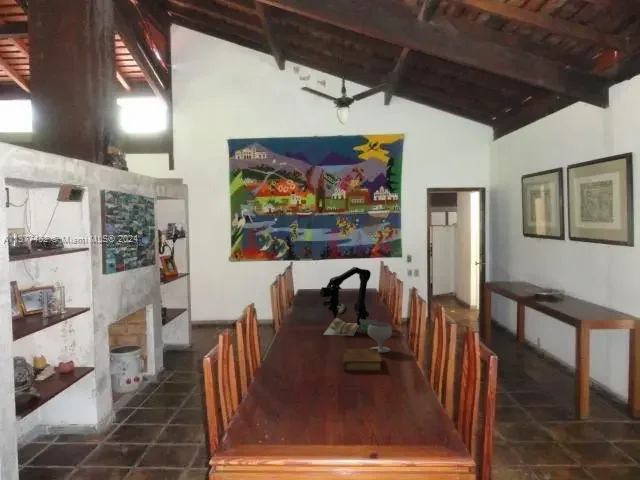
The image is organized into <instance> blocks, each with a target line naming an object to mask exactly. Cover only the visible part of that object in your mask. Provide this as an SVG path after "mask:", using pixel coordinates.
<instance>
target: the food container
mask: <svg viewBox="0 0 640 480" xmlns="http://www.w3.org/2000/svg"><path fill="white" fill-rule="evenodd" d="M359 322H360V323H361V325H360V332H361V334H362V335H368V327H369V325H370V324H371V323H375V322H378V319H376V318H375V319H370V318H367V319H361V318H360V320H359ZM368 336H369V335H368Z"/></svg>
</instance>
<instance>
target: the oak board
mask: <svg viewBox="0 0 640 480" xmlns="http://www.w3.org/2000/svg"><path fill="white" fill-rule="evenodd" d="M345 323H346V324H345V326H344V328H343V329H342V331H341V334H353V333H354V331H355V329H356V327H357V325H358V324H357V322H356V323H353V322H352V323H351V322H345Z"/></svg>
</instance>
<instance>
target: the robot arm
mask: <svg viewBox="0 0 640 480" xmlns="http://www.w3.org/2000/svg"><path fill="white" fill-rule="evenodd" d="M356 274H357V275H358V277H359V281H360V282H359V289H358V290H359V291H358V296H357V297H358V298H357V302H356V303H354V305H353V309H354V313H355V314H356V316H357V318H356V323H357V325H359V326H361V323H360V322H359V320H360V318H361V319H368V318H369V316H370V313H369V312H368V311H367V310H366V309H367V307H366V303H365V300H366V293H367V286H368V285H367V284H368V283H369V280H370V279H371V275H372V272H371V271H370V270H369V269H365V268H360V267H358V266H357V267H356V266H353V267H351V268H350V269H348V270H347V271H345V272H343V273H342V274H340V275H337V276H333V277H331V278H329V282H328V283H327V285H326V286H325V287H324V286H322V287H321V289H320V291H319V294H320V297H321V298H328V297H330V298H329V299H326V300H323V302H322V306H323V307H326V306H328V308H327V309H328V311H331V312H332V314H333V318H334V319H336V317H337V318H338V315H337V314H338V312H339V309H340V308H338V306H341V304H342V302H341V301H340V290H342V289H343V288H342V287H341V286H340V285H341V284H343V282H344V281H345V280H348V279H349V278H350V277H352V276H354V275H356Z"/></svg>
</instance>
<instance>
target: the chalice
mask: <svg viewBox="0 0 640 480" xmlns="http://www.w3.org/2000/svg"><path fill="white" fill-rule="evenodd" d="M392 335H393V329H392V326H391V324H390V323H388V322H383V321H382V322H381V321H380V322H378V321H377V322H375V323H371V324H370V325H369V327H368V337H370V338H371V339H373V340H374V341H376V342H377V346H372V347H370V348H369V349H378V352H379V354H380V353H389V352H391V349H390V347H387V346H382V344H383V342H384V341H386V340H387V339H389V338H391V336H392Z"/></svg>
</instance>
